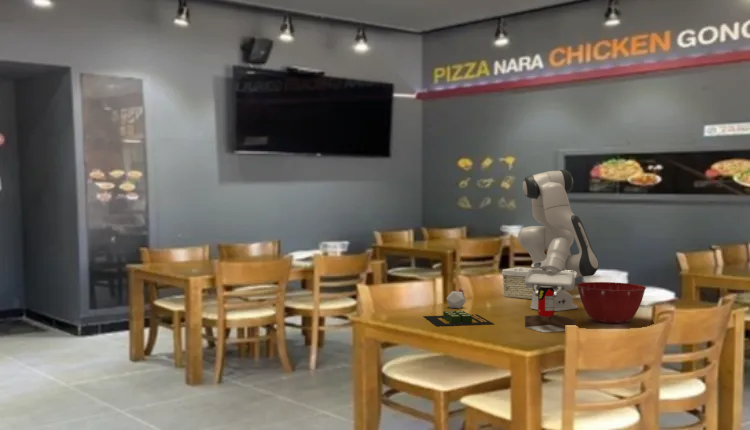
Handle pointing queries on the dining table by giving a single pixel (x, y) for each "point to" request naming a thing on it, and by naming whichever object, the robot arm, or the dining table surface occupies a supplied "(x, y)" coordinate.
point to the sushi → (458, 319)
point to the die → (456, 299)
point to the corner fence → (548, 323)
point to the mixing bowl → (611, 300)
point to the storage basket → (516, 283)
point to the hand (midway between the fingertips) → (545, 295)
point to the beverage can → (546, 301)
